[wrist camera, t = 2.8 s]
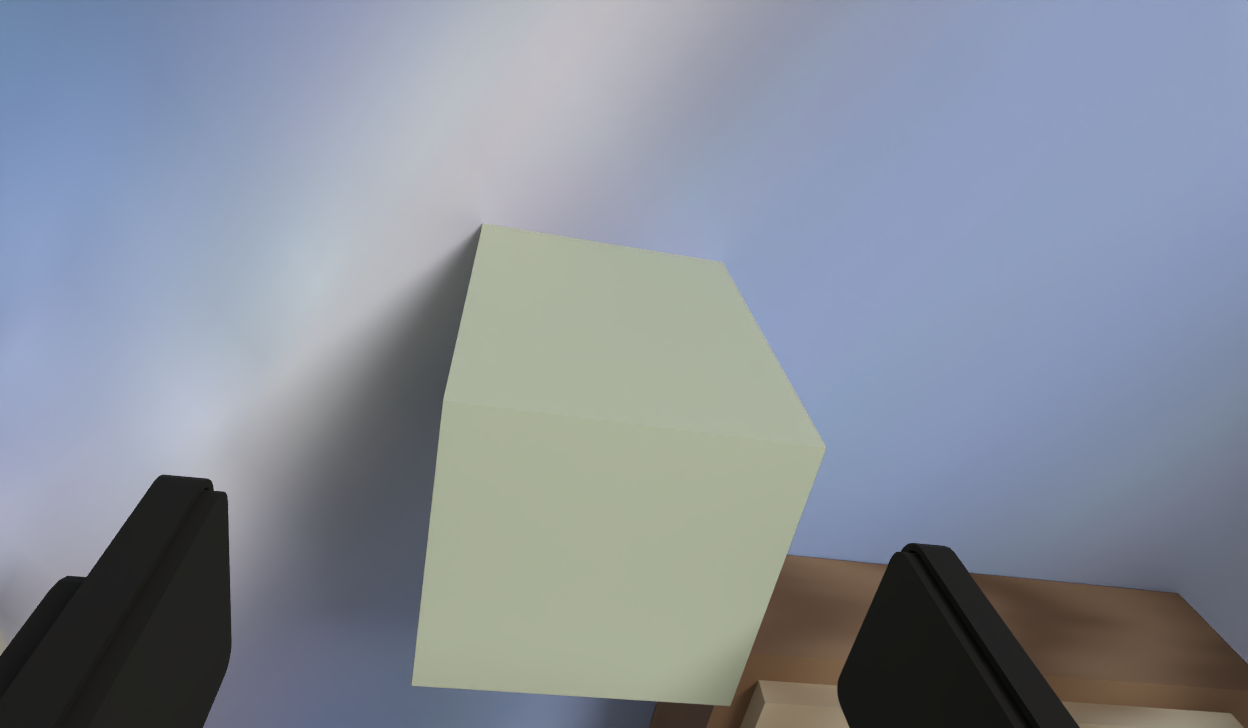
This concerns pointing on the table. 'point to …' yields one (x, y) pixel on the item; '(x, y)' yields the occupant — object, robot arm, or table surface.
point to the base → (1040, 621)
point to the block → (607, 477)
